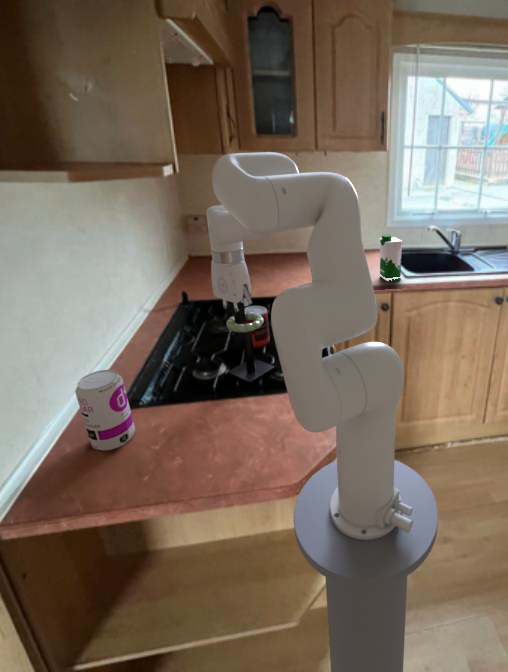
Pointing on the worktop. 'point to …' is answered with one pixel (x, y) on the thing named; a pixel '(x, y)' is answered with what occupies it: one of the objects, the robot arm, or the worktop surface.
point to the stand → (250, 364)
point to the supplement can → (105, 409)
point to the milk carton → (390, 257)
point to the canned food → (261, 333)
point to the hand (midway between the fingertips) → (236, 321)
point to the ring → (245, 327)
